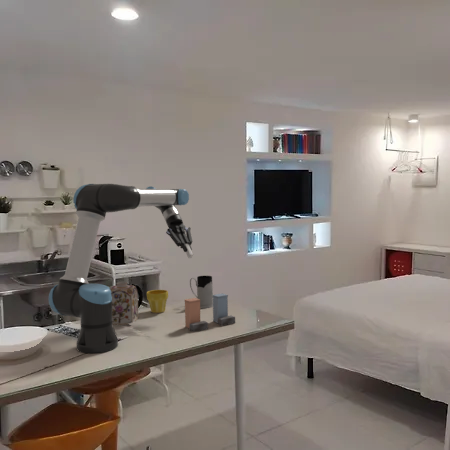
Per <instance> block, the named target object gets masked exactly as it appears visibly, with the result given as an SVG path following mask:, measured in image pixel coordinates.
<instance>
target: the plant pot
mask: <svg viewBox="0 0 450 450" xmlns="http://www.w3.org/2000/svg"><path fill="white" fill-rule="evenodd" d="M168 299H169V290H166V289H152V290H148V291H146V300H147V301H148V304H149V308H150V311H151V313H153V314H161V313H164V312H165V311H166V306H167V300H168Z"/></svg>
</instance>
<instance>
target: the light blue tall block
mask: <svg viewBox="0 0 450 450" xmlns="http://www.w3.org/2000/svg"><path fill="white" fill-rule="evenodd" d="M228 297H229V294H227V293H226V294H225V293H216V294H213V307H212V314H213V316H212V319H213V322H215V323H216V324H218V318H221V317H226V316H229V315H228V314H229V313H228V312H229V309H228V308H229V307H228V306H229V305H228Z"/></svg>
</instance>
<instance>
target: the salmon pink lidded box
mask: <svg viewBox="0 0 450 450" xmlns="http://www.w3.org/2000/svg"><path fill="white" fill-rule="evenodd" d="M184 311H185V312H184V318H185V319H184V321H185V324H184V325H185V328H187V329H188V330H190V326H189V324H191V323H196V322H201V308H200V299H197V298H196V297H191V298H186V299H184Z"/></svg>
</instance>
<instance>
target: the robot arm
mask: <svg viewBox="0 0 450 450" xmlns="http://www.w3.org/2000/svg"><path fill="white" fill-rule="evenodd" d="M72 199H73V204H74V209H75V210H76V212H75V214H76V215H77V217H78V220H77V223H76V226H75V227H76V228H75V231H74V236H73V240H72V243H71V248H70V252H69V255H68V260H67V265H66V268H65V273H64V275H63V276H61V277H60V278H59V280H58V284H56V285H53V287H52V288H51V289H50V290H49V294H48V304H49V307H50V308H51V310H52V312H54V313H55V314H58V315H61V316H67V317H68V316H69V317H74V318H80V330H79V333H78V337H77V340H76V350H77V349H78V350H79V351H78V350H77V351H78V352H80V351H81V353H83V352H84V353H85V354H99V353H105V352H109V351H112V350H114V349H116V348H117V347H118V345H119V343H118V342H119V341H118V340H119V339H118V337H117V334H116V332H115V328H114V325H112V296H111V290H110V287H109V286H107V285H104V284H103V283H90V282H89V281H88V276H89V272H90V271H89V270H90V266H91V263H92V262H91V261H92V258H93V254H94V250H95V246H96V240H97V237H98V232H99V228H100V223H101V222H103V221H104V220H105V219H106V215H107V213H117V212H121V211H123V212H124V211H127V210H135V209H137V208H140V207H155V208H156V209H158V210H159V211H160V213H161V214H162V216H163V219H164V222H166V225H167V227H168V228H167V229H166V232H165V234H166V235H168V236H169V237H170V238H171V240H172V241H173V242H174V244H175V245H176V247H178V248H179V247H180V249H182V250H183V253H186V256H187V258H188V259H192V258H193V256H194V253H193V251H192V250H193V249H192V243H193V238H192V234H191V228H192V227H190V226H188V227H186V224H184V222H183V218H182V217H181V215H180V213H179V211H178V209H177V207H176V206H185V205H187V204H188V203H189V200H190V194H189V192H188V190H187V189H184V188H183V189H182V188H176V189H175V188H156V187H155V186H147V187H146V188H137V187H136V186H133V185H122V184H115V183H88V184H83V185H81V186H79V187H77V189H76V190H75V192H74V195H73V198H72Z"/></svg>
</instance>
